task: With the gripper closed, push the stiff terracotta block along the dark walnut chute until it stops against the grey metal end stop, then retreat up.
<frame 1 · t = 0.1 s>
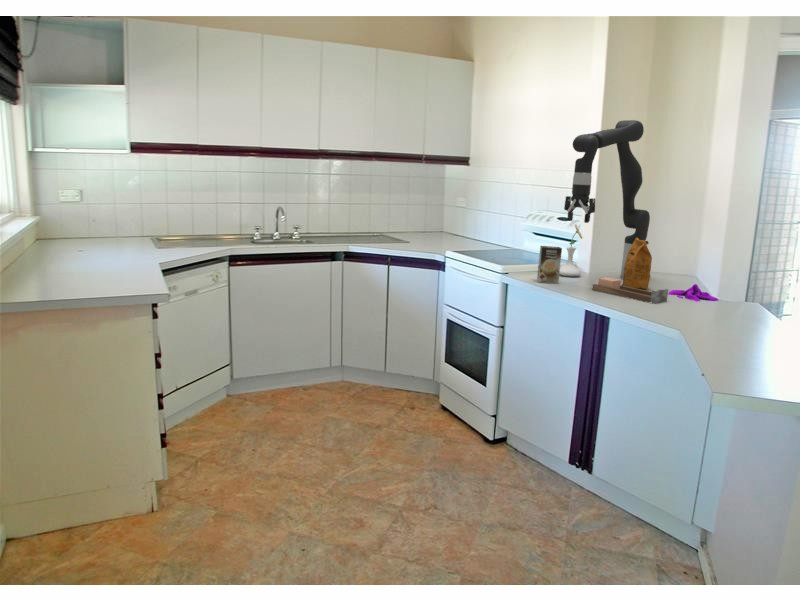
hand: (578, 221, 279), 29 cm above the table, fingers open, 8 cm apart
cloth: (693, 299, 274), on the table
coffee box: (547, 282, 296), on the table
coffee package: (634, 288, 290), on the table
flower in vase: (569, 275, 315), on the table
chute: (626, 294, 273), on the table
jammed block: (609, 284, 280), point 3 cm above the table, slide at 0.0 cm
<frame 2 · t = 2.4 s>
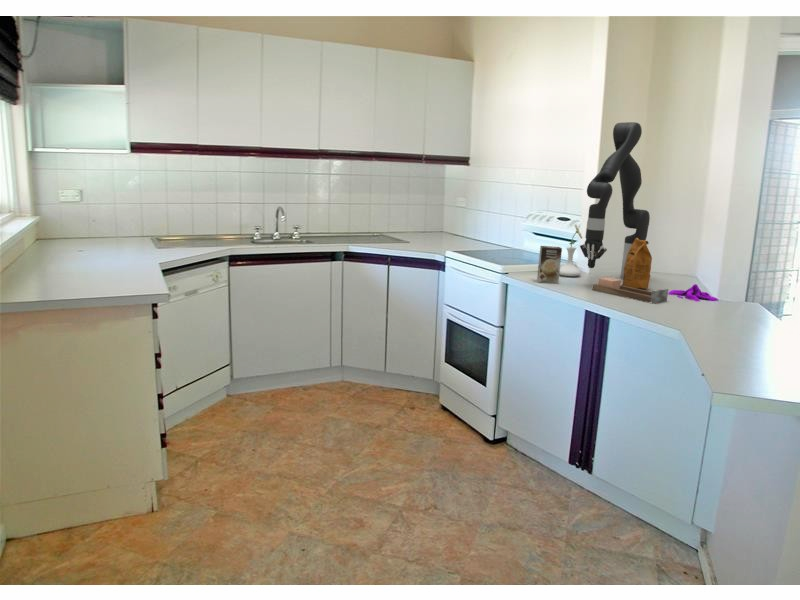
hand: (590, 267, 286), 9 cm above the table, fingers closed
nothing on the table moved.
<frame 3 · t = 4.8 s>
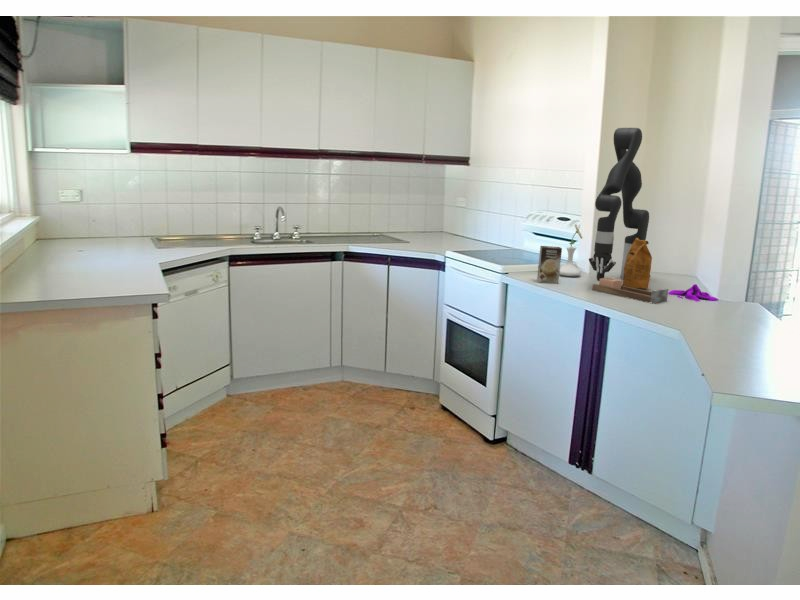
hand: (599, 281, 283), 4 cm above the table, fingers closed
jammed block: (610, 285, 279), point 3 cm above the table, slide at 0.4 cm, touching gripper
everything else where it was.
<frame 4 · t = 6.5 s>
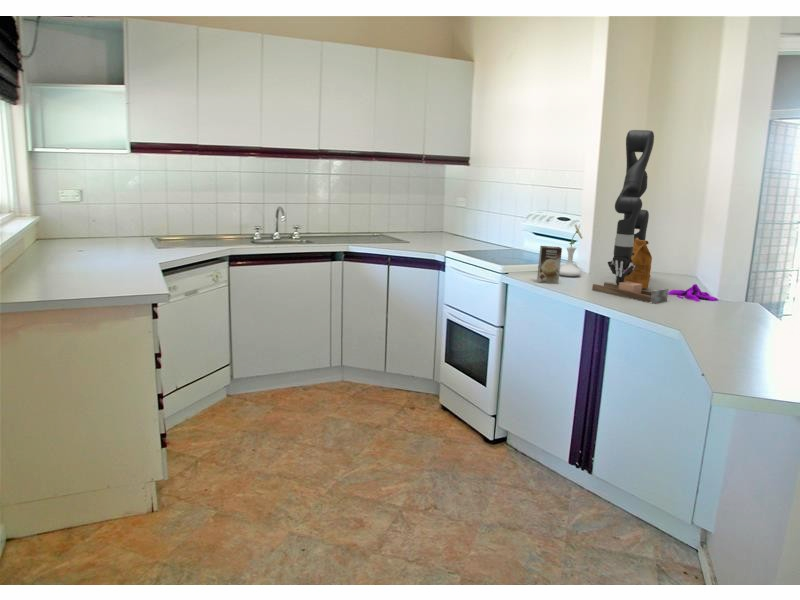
hand: (619, 285, 276), 4 cm above the table, fingers closed
jammed block: (630, 289, 272), point 3 cm above the table, slide at 10.2 cm, touching gripper
everything else where it was.
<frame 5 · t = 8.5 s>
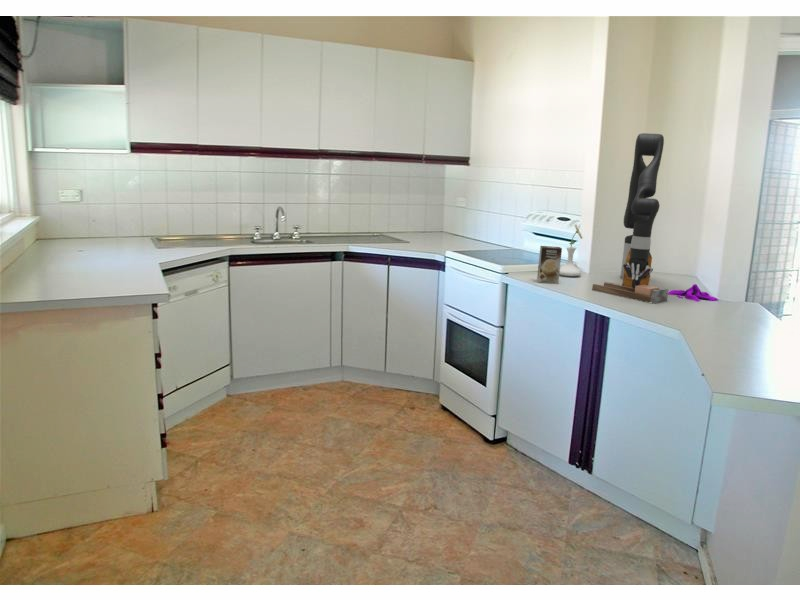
hand: (635, 288, 270), 4 cm above the table, fingers closed
jammed block: (646, 292, 266), point 3 cm above the table, slide at 18.0 cm, touching gripper
everything else where it was.
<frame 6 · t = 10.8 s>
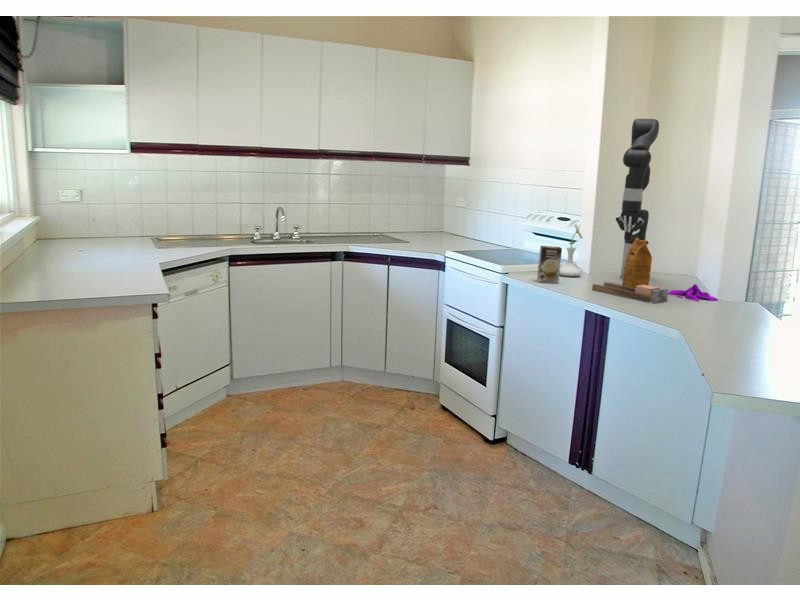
hand: (627, 241, 271), 22 cm above the table, fingers closed
jammed block: (646, 292, 266), point 3 cm above the table, slide at 18.1 cm
everything else where it was.
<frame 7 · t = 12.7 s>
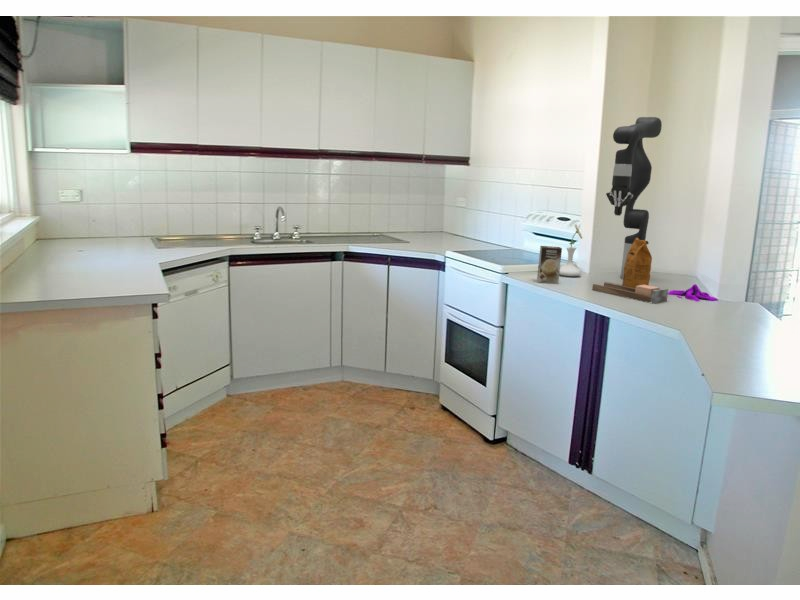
hand: (617, 215, 282), 32 cm above the table, fingers closed
nothing on the table moved.
at the end: jammed block slide at 18.1 cm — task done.
